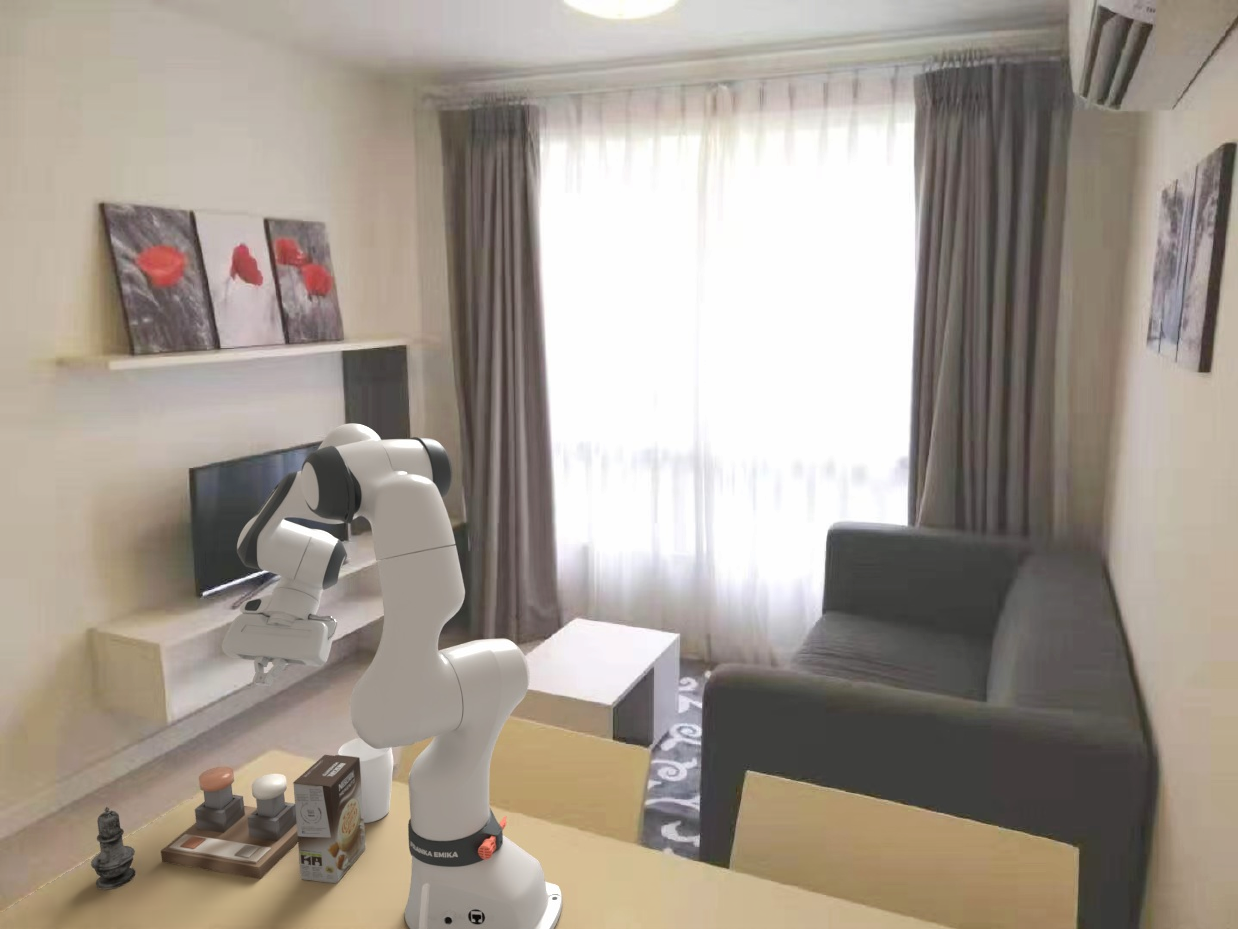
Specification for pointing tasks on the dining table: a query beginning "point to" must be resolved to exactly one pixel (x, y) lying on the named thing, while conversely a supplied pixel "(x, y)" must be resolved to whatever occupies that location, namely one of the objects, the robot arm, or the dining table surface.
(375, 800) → the cup
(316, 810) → the coffee box
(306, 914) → the dining table surface
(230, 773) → the terracotta button
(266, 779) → the white button
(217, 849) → the pattern board
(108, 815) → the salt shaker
